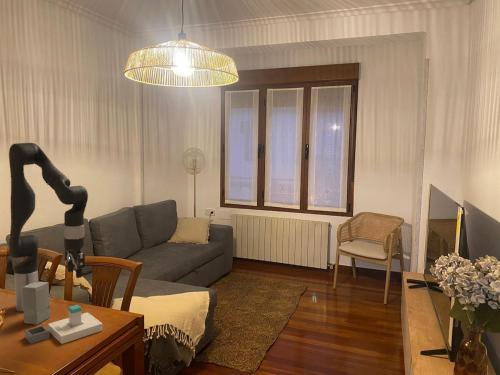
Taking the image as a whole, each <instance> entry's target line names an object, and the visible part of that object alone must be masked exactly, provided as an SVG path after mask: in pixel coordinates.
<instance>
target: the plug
mask: <svg viewBox="0 0 500 375" xmlns="http://www.w3.org/2000/svg"><path fill="white" fill-rule="evenodd" d="M67 308H68V318H69V326H70V327H71V328H73V327H76V326H79V325H82V321H81V314H82V307H81V306H80V304H75V305H71V306H68V307H67Z"/></svg>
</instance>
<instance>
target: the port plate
mask: <svg viewBox="0 0 500 375" xmlns="http://www.w3.org/2000/svg"><path fill="white" fill-rule="evenodd" d="M81 321H82V325H79V326H76V327H73V328H71V327H70V326H69V317H66V318H64V319H60V320H56V321H53V322H49V323H47V329H48V330H49V334H51V335H52V337H54V339H56V340H57V341H58V342H59V343H60V344H61V345H63V344H66V343H69V342H72V341H75V340H78V339H81V338H84V337H87V336H90V335H93V334H96V333H99V332H102V331H103V323H102V322H101V321H100V320H99V319H97V318H96V317H94V316H93V315H92V314H91V313H90V312H84V313H81Z"/></svg>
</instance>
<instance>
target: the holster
mask: <svg viewBox="0 0 500 375" xmlns="http://www.w3.org/2000/svg"><path fill="white" fill-rule="evenodd" d="M24 338H25V339H26V341H28V343H29V344H30V345H32V344H35V343H39V342H42V341H45V340H48V339H50V332H49V330H48V327H46V326H45V325H44V324H42V325H37V326H34V327H31V328H28V329H25V330H24Z"/></svg>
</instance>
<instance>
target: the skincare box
mask: <svg viewBox="0 0 500 375" xmlns="http://www.w3.org/2000/svg"><path fill="white" fill-rule="evenodd" d="M49 284H50V283H49V282H46V281H38V282H37V281H36V282H34V283H31V284H28V285H27V286H24V287H22V289H23V306H24V311H23V323H24V324H29V325H36V326H39V325H40V324H41V323H42V322H44V321H46V320H48V319H49V318H51V312H50V310H51V309H50V307H51V306H50V288H49V287H50V286H49Z"/></svg>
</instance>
